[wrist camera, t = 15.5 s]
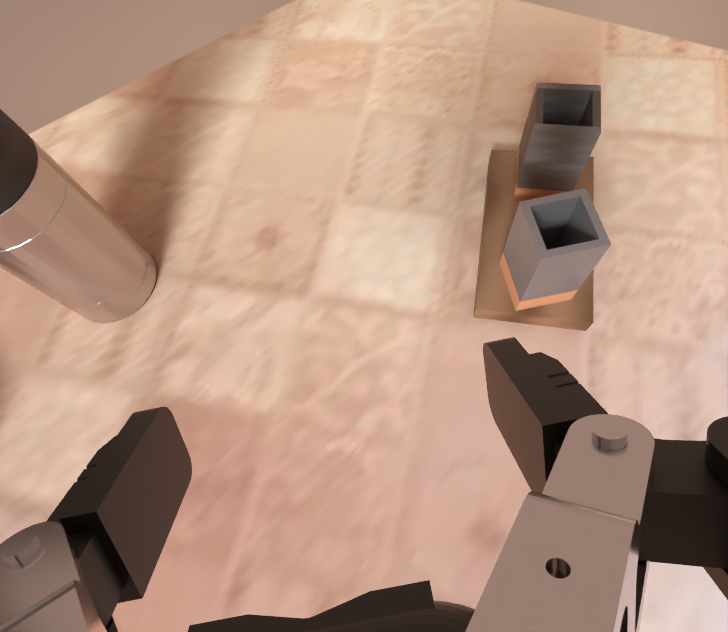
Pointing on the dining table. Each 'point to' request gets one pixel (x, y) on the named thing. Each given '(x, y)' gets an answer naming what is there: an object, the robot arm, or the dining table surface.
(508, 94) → the dining table surface
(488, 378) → the robot arm
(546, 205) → the sleeve
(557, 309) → the pin board
